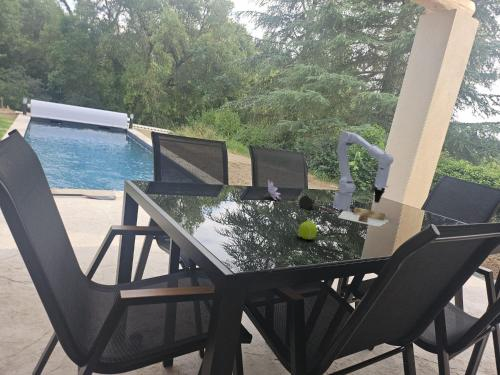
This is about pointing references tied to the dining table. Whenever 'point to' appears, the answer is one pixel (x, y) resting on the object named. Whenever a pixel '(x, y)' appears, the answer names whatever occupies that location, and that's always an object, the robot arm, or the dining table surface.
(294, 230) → the dining table surface
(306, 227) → the tennis ball
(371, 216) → the rod
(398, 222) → the dining table surface
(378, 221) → the slab
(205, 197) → the dining table surface
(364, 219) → the ridge
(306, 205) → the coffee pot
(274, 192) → the water lily
